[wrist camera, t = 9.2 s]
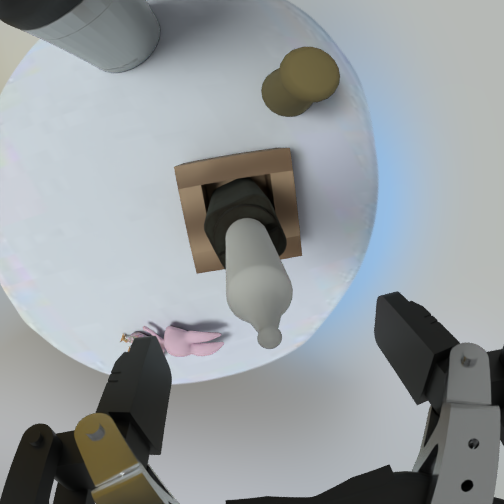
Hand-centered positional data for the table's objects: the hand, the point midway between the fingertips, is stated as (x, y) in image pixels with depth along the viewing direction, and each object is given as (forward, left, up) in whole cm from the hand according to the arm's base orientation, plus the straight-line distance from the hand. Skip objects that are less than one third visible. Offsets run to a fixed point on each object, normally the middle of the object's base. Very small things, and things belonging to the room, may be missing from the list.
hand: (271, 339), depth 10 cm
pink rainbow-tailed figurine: (+17, -13, -26) cm, 33 cm away
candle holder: (0, 0, -26) cm, 26 cm away
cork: (-12, +7, -26) cm, 29 cm away
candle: (0, 0, -25) cm, 25 cm away
